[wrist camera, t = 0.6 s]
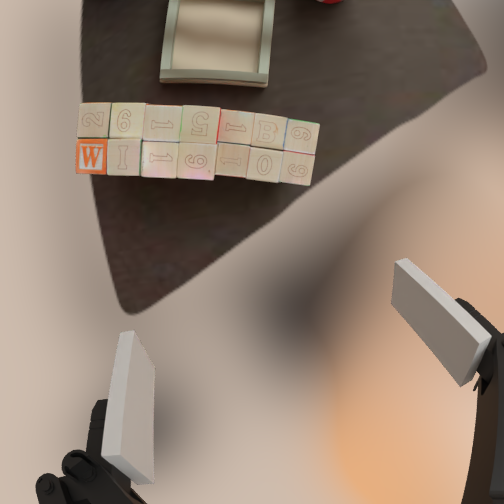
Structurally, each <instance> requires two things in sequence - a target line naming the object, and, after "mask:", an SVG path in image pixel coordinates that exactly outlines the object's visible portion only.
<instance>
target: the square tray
mask: <svg viewBox="0 0 504 504" xmlns="http://www.w3.org/2000/svg"><path fill="white" fill-rule="evenodd" d="M274 7H275V0H169V6H168V12H167V19H166V26H165V33H164V41H163V50H162V59H161V69H160V82H161V83H201V84H225V85H240V86H252V87H263V88H266V87H267V84H268V73H269V62H270V51H271V40H272V29H273V18H274Z"/></svg>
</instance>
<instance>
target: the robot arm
mask: <svg viewBox="0 0 504 504" xmlns="http://www.w3.org/2000/svg"><path fill="white" fill-rule="evenodd" d="M391 304H392V305H393V307H394V308H395V309H396V310H397V311H398V312H399V313H400V315H401V316H402V317H403V318H404V319H405V320H406V321H407V323H408V324H409V325H410V326H411V327H412V328H413V330H414V331H415V332H416V333H417V334H418V336H419V337H420V338H421V339H422V340H423V341H424V342H425V344H426V345H427V346H428V347H429V349H430V350H431V351H432V352H433V353H434V355H435V356H436V357H437V358H438V359H439V361H440V362H441V363H442V365H443V366H444V367H445V368H446V370H447V371H448V372H449V373H450V375H451V376H452V377H453V378H454V379H455V381H456V382H457V383H458V385H459V386H460V387H461V386H463V385H465V384H466V383H468V382H469V381H471V380H472V379H473V377H474V375H475V373H476V371H477V372H478V373H479V374H480V376H479V378H478V381H477V382H476V384H475V386H474V389H473V391H475V390H476V388H477V386H478V398H477V413H476V424H475V432H474V441H473V447H472V454H471V460H470V466H469V471H468V476H467V481H466V486H465V490H464V495H463V499H462V502H461V504H504V333H502V334H501V333H500V332H499V331H498V330H497V329H496V328H495V327H494V326H493V325H492V324H491V323H490V322H489V321H488V320H487V319H486V318H484V317H483V316H482V315H481V314H480V313H479V312H478V311H477V310H475V308H474V307H473V306H472V305H470V304H469V303H468V302H466V301H464V300H462V299H460V298H457V299H455V300H454V299H453V298H452V297H451V296H450V295H448V294H447V293H446V292H445V291H444V290H443V289H442V288H441V287H439V285H437V284H436V283H435V282H434V281H433V280H432V279H431V278H429V277H428V276H427V275H426V274H425V273H424V272H423V271H421V270H420V269H419V268H418V267H417V266H416V265H414V264H413V263H412V262H411V261H410V260H409V259H407V258H405V259H402V260H398V261H395V267H394V279H393V291H392V300H391ZM154 386H155V367H154V365H153V363H152V362H151V360H150V358H149V356H148V354H147V353H146V351H145V349H144V347H143V345H142V343H141V342H140V340H139V337H138V336H137V334H136V332H135V330H131V331H126V332H121V333H120V337H119V341H118V346H117V351H116V356H115V362H114V367H113V373H112V379H111V385H110V391H109V398H108V399H103V400H98V401H97V402H96V405H95V406H94V408H93V410H92V414H91V422H90V427H89V429H90V430H89V433H88V440H87V448H86V452H85V451H82V450H73V451H71V452H69V453H68V454H67V455H66V456H65V457H64V459H63V461H62V471H63V474H64V475H66V476H63V477H60V478H58V477H56V476H55V475H53V474H50V473H46V474H43V475H42V476H40V477H39V479H38V480H37V482H36V494H37V497H38V501H39V504H147V503H146V502H145V501H144V500H143V499H142V498H141V497H140V496H139V495H138V494H137V493H136V492H135V491H134V490H133V489H132V488H131V480H132V481H133V482H134V483H136V484H137V485H138V484H154V449H153V448H154V447H153V429H154V428H153V426H154Z"/></svg>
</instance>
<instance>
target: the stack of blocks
mask: <svg viewBox="0 0 504 504" xmlns="http://www.w3.org/2000/svg"><path fill="white" fill-rule="evenodd" d="M319 126H320V124H318V123H313V122H307V121H302V120H296V119H289V118H286V117H280V116H274V115H267V114H260V113H253V112H245V111H235V110H225V109H221V108H220V107H208V106H192V105H183V106H173V105H153V104H148V103H109V102H106V103H80V105H79V115H78V126H77V137H78V139H77V143H76V173H77V174H108V175H123V176H139V175H141V176H142V177H156V178H183V179H199V180H214V175H223V176H232V177H241V178H246V179H250V180H257V181H266V182H274V183H278V182H284V183H291V184H298V185H305V186H310V181H311V176H312V170H313V165H314V159H315V150H316V145H317V138H318V132H319Z"/></svg>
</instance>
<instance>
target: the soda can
mask: <svg viewBox="0 0 504 504" xmlns="http://www.w3.org/2000/svg"><path fill="white" fill-rule="evenodd" d="M317 1H319V2H322V3H328V4H333V3H339V2H341V1H343V0H317Z"/></svg>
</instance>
